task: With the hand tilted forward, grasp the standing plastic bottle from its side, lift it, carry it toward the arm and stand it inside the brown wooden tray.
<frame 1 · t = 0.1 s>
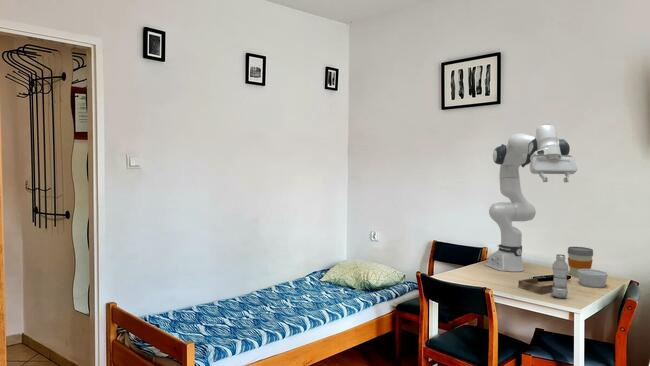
hand: (555, 181, 212), 54 cm above the table, tool tilted 30°, fingers open, 8 cm apart
brown wooden tray: (538, 289, 230), on the table
reusable coffee cup: (579, 275, 257), on the table
ramekin: (592, 285, 239), on the table
plastic bottle: (559, 297, 217), on the table
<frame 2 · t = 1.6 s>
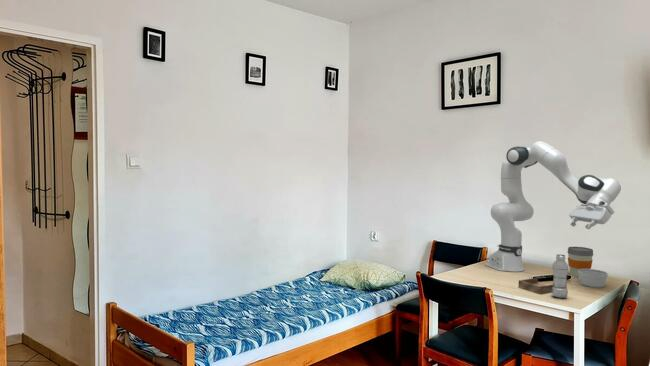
hand: (579, 226, 226), 32 cm above the table, tool tilted 45°, fingers open, 8 cm apart
nothing on the table moved.
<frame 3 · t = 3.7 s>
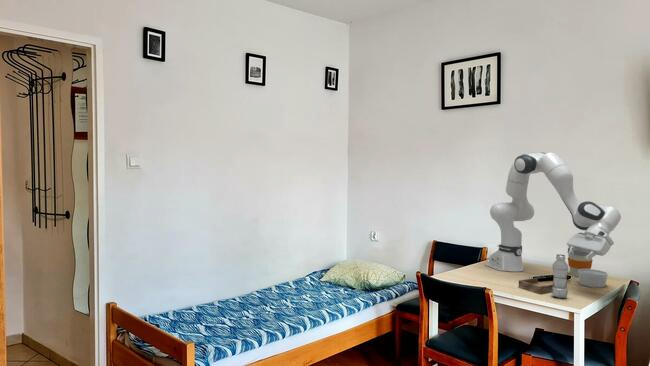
hand: (577, 257, 218), 19 cm above the table, tool tilted 45°, fingers open, 8 cm apart
nothing on the table moved.
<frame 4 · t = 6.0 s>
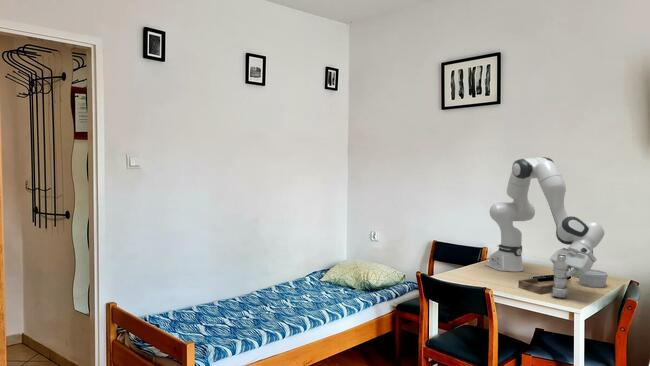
hand: (560, 273, 216), 11 cm above the table, tool tilted 45°, fingers closed on plastic bottle, 6 cm apart
plastic bottle: (559, 297, 217), on the table, touching gripper
everything else where it was.
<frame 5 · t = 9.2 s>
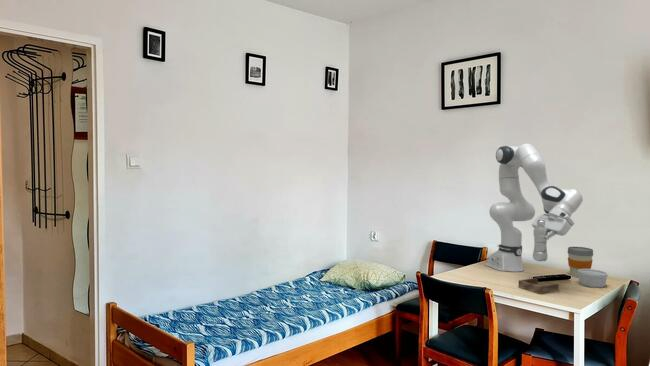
hand: (540, 237, 228), 26 cm above the table, tool tilted 45°, fingers closed on plastic bottle, 6 cm apart
plastic bottle: (539, 261, 229), point 14 cm above the table, touching gripper
everything else where it was.
when the fingers open (14 cm above the table, at t = 12.5 s): plastic bottle moves 2 cm, resting on brown wooden tray.
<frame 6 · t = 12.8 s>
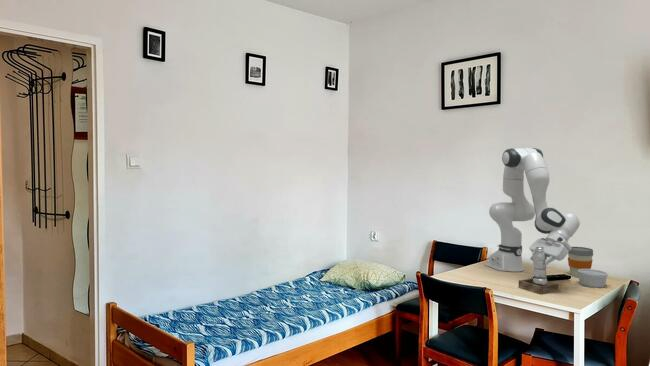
hand: (538, 261, 229), 14 cm above the table, tool tilted 45°, fingers open, 8 cm apart
plastic bottle: (540, 288, 228), point 1 cm above the table, touching brown wooden tray, gripper
everything else where it was.
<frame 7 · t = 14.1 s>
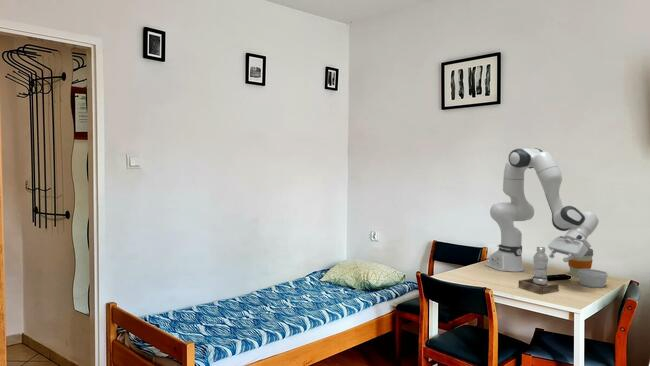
hand: (557, 259, 232), 14 cm above the table, tool tilted 45°, fingers open, 8 cm apart
plastic bottle: (540, 288, 228), point 1 cm above the table, touching brown wooden tray
everything else where it was.
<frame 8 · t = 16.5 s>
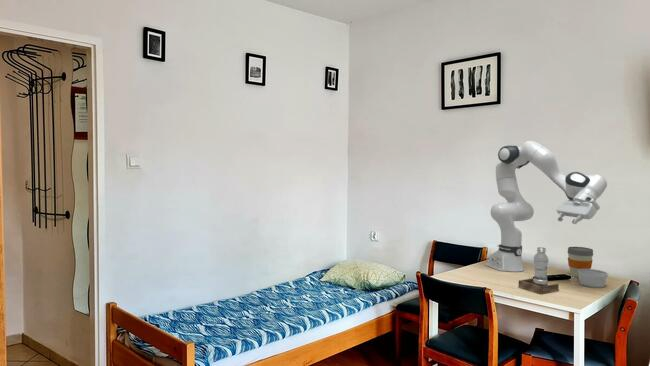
hand: (566, 221, 230), 33 cm above the table, tool tilted 45°, fingers open, 8 cm apart
nothing on the table moved.
at the end: plastic bottle inside the target area on the brown wooden tray (1.8 cm from its centre), point 0.8 cm above the brown wooden tray's base; plastic bottle tilted 0°; the gripper is holding nothing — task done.
